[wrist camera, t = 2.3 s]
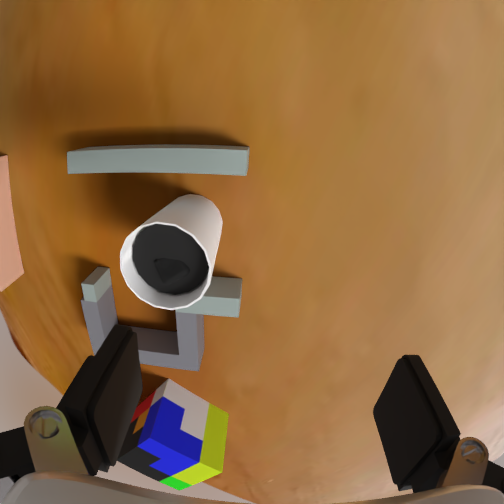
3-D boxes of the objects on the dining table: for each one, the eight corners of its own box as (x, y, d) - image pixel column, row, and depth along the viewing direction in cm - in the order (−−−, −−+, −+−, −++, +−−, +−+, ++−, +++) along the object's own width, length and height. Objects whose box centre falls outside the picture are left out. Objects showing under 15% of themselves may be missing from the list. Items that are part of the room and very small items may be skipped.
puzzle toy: (168, 378, 39) (149, 437, 30) (228, 413, 41) (222, 472, 32) (135, 408, 42) (116, 460, 33) (189, 438, 44) (179, 490, 35)
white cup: (239, 239, 31) (229, 291, 22) (180, 265, 33) (151, 321, 23) (207, 177, 29) (181, 204, 20) (147, 208, 30) (103, 246, 21)
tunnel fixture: (249, 146, 28) (246, 151, 23) (238, 351, 37) (235, 380, 32) (-3, 156, 28) (-31, 164, 23) (27, 319, 37) (9, 339, 32)
